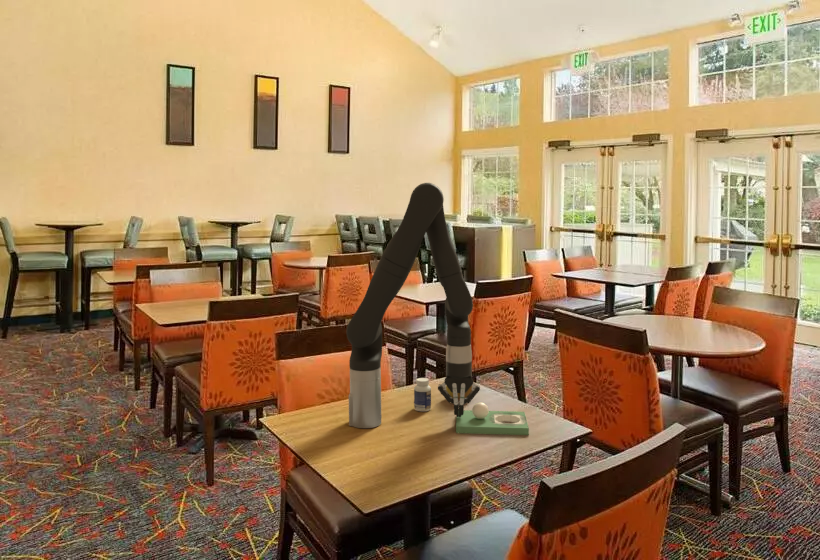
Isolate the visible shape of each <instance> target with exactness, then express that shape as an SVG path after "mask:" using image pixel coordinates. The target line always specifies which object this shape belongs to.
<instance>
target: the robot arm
mask: <svg viewBox="0 0 820 560" xmlns="http://www.w3.org/2000/svg"><path fill="white" fill-rule="evenodd" d="M444 198H445V197H444V195H443V192H442V190H441V188H440V187H439V186H437V185H436V184H435V183H432V182H424V183H420V184H419V185H417V186H416V187H414V188H413V190H412V191H411V194H410V197H409V202H408V205H407V207H406V210H405V212H404V216H403V218H402V220H401V222H400V224H399V226H398V228H397V230H396V231H395V233H394V234H393V235H392V237H391V239H390V240H389V242H388V243H387V246H386V247H385V249H384V251H383V253H382V254H381V256H380V259H379V260H378V263H377V265H376V268H375V270H374V272H373V275H372V277H371V280H370V282H369V284H368V287H367V290H366V292H365V295H364V297H363V299H362V301H361V303H360V305H359V306H358V308H357V310H356V311H355V313H354V314H353V315H352V317H351V318H350V320H349V322H348V324H347V326H346V339H347V340H348V342H349V343H350V344H351V351H350V355H349V361H348V363H349V365H348V366H349V394H348V425H349V427H353V428H357V429H372V428H377V427H378V426H380V425H381V424H382V374H381V373H382V371H381V369H382V368H381V367H382V365H381V364H382V363H381V362H382V354H383V326H382V321H383V319H384V316H385V314H386V311H387V309H388V308H389V306H390V305H391V304H392V302H393V301H394V299H395V298H396V297H397V295H398V293H399V292H400V290H401V289H402V287H403V285H404V284H405V282H406V280H407V279H408V276H409V274H410V272H411V270H412V268H413V266H414V264H415V262H416V259H417V256H418V253H419V251H420V248H421V246H422V242H423V239H424V237H425V235H426V236H427V239H428V243H429V248H430V252H431V257H432V261H433V265H434V268H435V271H436V272H435V273H436V275H437V278H438V280H439V283H440V285H441V287H442V289H443V290H444V294H445V301H444V310H445V311H444V314H445V320H446V321H445V322H446V349H445V378H444V380H443V382H442V383H439V384H437V385H438V386H437V390H438V391H439V392H440V394H441V395H442V396H443V397H444V398H445V399H444V400H446V402H448V403H449V404H452V405H453V414H454V415H453V416H456V418H457V417H461V415H463V414H464V410H465V407H464V406H465V404H469V403H470V402H471V401H472V400H473V399H474V398H475V397H476V395H477V394H478V393H479V392H480V391H481V387H480V385H479V384H476V382H474V378H473V376H472V375H473V372H472V371H473V369H472V368H473V364H472V363H473V360H472V359H473V351H472V330H471V326H470V324H469V316H470V315H471V314H472V311H473V308H474V302H473V298H472V295H471V292H470V290H469V287H468V285H467V283H466V281H465V279H464V275H463V270H462V267H461V265H460V261H459V257H458V255H457V251H456V249H455V247H454V243H453V241H452V237H451V235H450V232H449V229H448V226H447V225H448V224H447V220H446V216H445V209H444V201H445V199H444ZM446 386H447V387H448V388H449V390H450V391H451V392H452V393H453V398H452V397H451V396H450V394H449V393H448V392H447V391H446ZM471 386H472V391H471V392H470V394H469V395H468V396H467V397H466V398H464V395H465V393H466V392H467V391H468V390H469V388H470V387H471ZM458 393H460V401H458Z"/></svg>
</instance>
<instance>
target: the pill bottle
mask: <svg viewBox="0 0 820 560" xmlns="http://www.w3.org/2000/svg"><path fill="white" fill-rule="evenodd" d="M415 384H416V385H414V388H413V389H414V390H413V399H414V400H413V403H414V404H413V406H414V410H415V411H416V412H423V413H425V412H428V411H429V412H430V410H432V387H431V386H430V385H429V384H430V380H429V378H426V377H418V378H416V380H415Z"/></svg>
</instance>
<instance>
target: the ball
mask: <svg viewBox="0 0 820 560" xmlns="http://www.w3.org/2000/svg"><path fill="white" fill-rule="evenodd" d="M488 407H489V406H488V405H487V404H485V403H484V402H482V401H481V402H476V403H475V404H474V405H473V406H472V409H471V410H472V413H473V415H474V416H475V417H476V418H478V419H483V418H485V417H486V416H487V415H488V412H489V411H490V410H489V408H488Z"/></svg>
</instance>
